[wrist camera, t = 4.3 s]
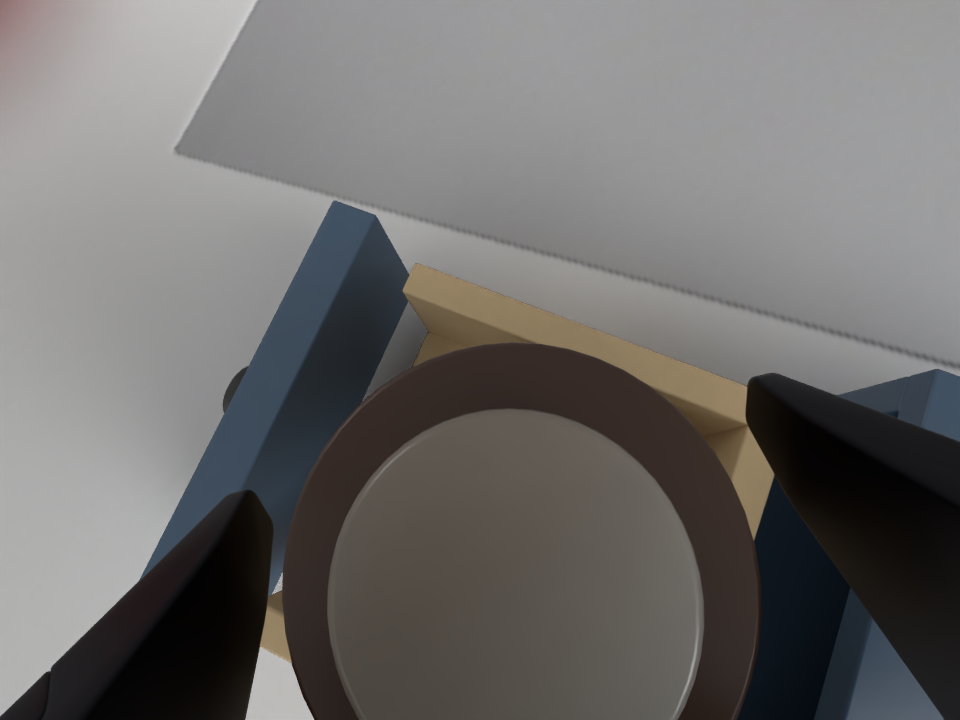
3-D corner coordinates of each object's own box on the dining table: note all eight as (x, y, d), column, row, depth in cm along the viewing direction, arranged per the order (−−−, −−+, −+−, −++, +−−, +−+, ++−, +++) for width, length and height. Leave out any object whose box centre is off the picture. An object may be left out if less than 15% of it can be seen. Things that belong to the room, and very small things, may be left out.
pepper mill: (625, 467, 15) (901, 434, 4) (567, 626, 14) (712, 1124, 3) (478, 406, 15) (371, 237, 5) (415, 554, 15) (114, 764, 4)
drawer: (203, 562, 16) (72, 595, 11) (351, 260, 18) (290, 183, 13) (605, 765, 14) (645, 908, 9) (727, 403, 16) (812, 372, 11)
